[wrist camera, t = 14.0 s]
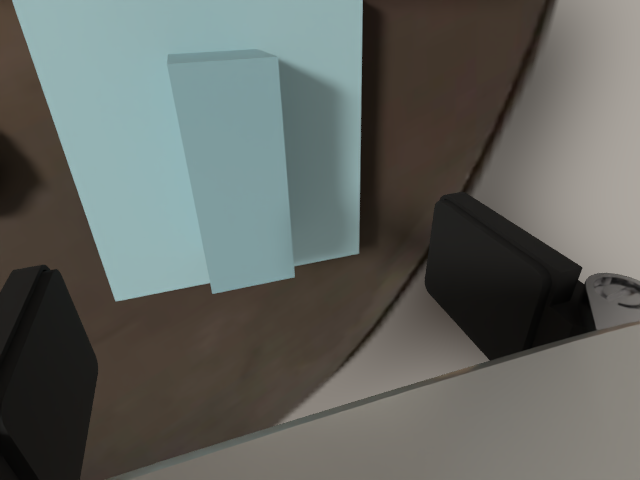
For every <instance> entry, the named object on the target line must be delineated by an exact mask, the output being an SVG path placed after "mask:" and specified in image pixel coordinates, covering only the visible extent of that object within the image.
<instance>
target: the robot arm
mask: <svg viewBox="0 0 640 480" xmlns="http://www.w3.org/2000/svg"><path fill="white" fill-rule="evenodd" d="M581 270H582V267H581V266H579V265H578V264H576V263H575V262H573V261H572V260H570V259H568V258H567V257H565V256H564V255H562V254H561V253H559V252H558V251H556V250H554V249H553V248H551V247H549V246H548V245H546V244H545V243H543V242H542V241H540V240H539V239H537V238H535V237H534V236H532V235H531V234H529V233H528V232H526V231H525V230H523V229H521V228H520V227H518V226H517V225H515V224H514V223H512V222H510V221H509V220H507V219H506V218H504V217H503V216H501V215H499V214H498V213H496V212H495V211H493V210H492V209H490V208H489V207H487V206H485V205H484V204H482V203H480V202H479V201H478V200H476V199H474V198H473V197H471V196H470V195H468V194H467V193H464V192H459V193H453V194H447V195H443V196H442V197H441V198H440V200H439V201H438V202H437V203H436V204H435V208H434V215H433V223H432V230H431V238H430V245H429V253H428V260H427V268H426V275H425V286H426V289H427V291H428V293H429V294H430V295H431V296H432V297H433V298H434V299H435V300H436V301H437V303H438V304H439V305H440V306H441V307H442V308H443V309H444V310H445V311H446V312H447V314H448V315H449V316H450V317H451V318H452V319H453V320H454V321H455V322H456V323H457V325H458V326H459V327H460V328H461V329H462V330H463V331H464V332H465V334H466V335H468V337H469V338H470V339H471V340H472V341H473V342H474V343H475V345H476V346H477V347H478V348H479V349H480V350H481V351H482V352H483V353H484V354H485V355H486V356H487V358H488V359H489V360H490V361H488V362H484V363H481V364H477V365H474V366H471V367H468V368H464V369H461V370H457V371H454V372H451V373H447V374H444V375H441V376H438V377H434V378H431V379H427V380H424V381H421V382H417V383H414V384H411V385H408V386H404V387H401V388H398V389H395V390H391V391H388V392H384V393H382V394H378V395H375V396H371V397H368V398H365V399H362V400H358V401H355V402H352V403H348V404H345V405H342V406H339V407H335V408H332V409H329V410H325V411H322V412H319V413H316V414H313V415H309V416H306V417H303V418H299V419H296V420H293V421H290V422H286V423H283V424H280V425H277V426H274V427H270V428H267V429H264V430H261V431H257V432H254V433H251V434H248V435H245V436H241V437H238V438H235V439H232V440H228V441H225V442H222V443H219V444H216V445H212V446H209V447H206V448H203V449H199V450H196V451H193V452H190V453H187V454H183V455H180V456H177V457H174V458H170V459H167V460H164V461H161V462H158V463H155V464H152V465H149V466H146V467H143V468H140V469H137V470H134V471H131V472H128V473H125V474H121V475H118V476H115V477H112V478H109V479H106V480H640V281H638V280H636V279H633V278H630V277H627V276H623V275H618V274H611V273H599V274H594V275H591V276H589V277H588V279H586V281H585V284H583V283H582V282H580V281H579V280H578V278H579V275H580V273H581ZM97 375H98V363H97V359H96V356H95V353H94V351H93V349H92V346H91V344H90V342H89V339H88V337H87V334H86V332H85V330H84V327H83V325H82V323H81V320H80V318H79V316H78V313H77V311H76V308H75V306H74V304H73V301H72V299H71V297H70V294H69V292H68V290H67V287H66V285H65V282H64V280H63V278H62V275H61V273H60V272H59V271H58V270H57V269H55V270H50V269H49V268H48V267H47V266H46V265H40V266H34V267H28V268H22V269H17V270H13V271H12V272H11V274H10V276H9V277H8V279H7V281H6V283H5V285H4V287H3V288H2V290H1V292H0V480H80V475H81V469H82V463H83V457H84V452H85V446H86V440H87V434H88V428H89V422H90V416H91V411H92V405H93V399H94V393H95V387H96V381H97Z"/></svg>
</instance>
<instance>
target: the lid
mask: <svg viewBox="0 0 640 480" xmlns="http://www.w3.org/2000/svg"><path fill="white" fill-rule="evenodd" d="M12 1H13V4H14V7H15V10H16V13H17V16H18V19H19V22H20V25H21V27H22V30H23V33H24V36H25V39H26V42H27V45H28V48H29V51H30V54H31V57H32V59H33V62H34V65H35V68H36V71H37V74H38V77H39V80H40V83H41V86H42V89H43V91H44V94H45V97H46V100H47V103H48V106H49V109H50V112H51V115H52V118H53V121H54V123H55V126H56V129H57V132H58V135H59V138H60V141H61V144H62V147H63V150H64V153H65V156H66V158H67V161H68V164H69V167H70V170H71V173H72V176H73V179H74V182H75V185H76V188H77V190H78V193H79V196H80V199H81V202H82V205H83V208H84V211H85V214H86V217H87V220H88V222H89V225H90V228H91V231H92V234H93V237H94V240H95V243H96V246H97V249H98V252H99V254H100V257H101V260H102V263H103V266H104V269H105V272H106V275H107V278H108V281H109V284H110V286H111V289H112V292H113V295H114V298H115V301H120V300H125V299H131V298H136V297H141V296H146V295H151V294H156V293H161V292H166V291H171V290H176V289H181V288H186V287H191V286H197V285H202V284H207V283H210V284H211V289H212V294H214V293H219V292H224V291H229V290H234V289H239V288H244V287H249V286H253V285H258V284H263V283H268V282H273V281H278V280H283V279H288V278H293V277H295V274H294V266H298V265H303V264H308V263H313V262H318V261H323V260H328V259H334V258H339V257H344V256H349V255H354V254H359V220H360V151H361V83H362V14H363V0H12Z"/></svg>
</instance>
